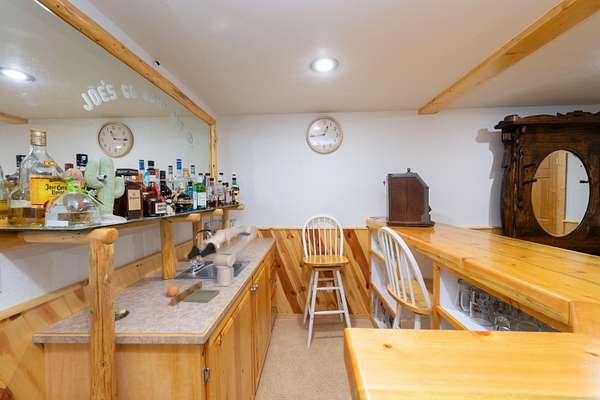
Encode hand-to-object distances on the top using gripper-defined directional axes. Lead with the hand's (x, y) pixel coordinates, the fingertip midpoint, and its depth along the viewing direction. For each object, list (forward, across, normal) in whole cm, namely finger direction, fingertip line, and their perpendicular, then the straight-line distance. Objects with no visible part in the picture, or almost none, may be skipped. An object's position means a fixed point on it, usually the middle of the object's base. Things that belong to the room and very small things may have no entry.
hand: (194, 256), depth 112 cm
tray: (+2, -3, +20) cm, 20 cm away
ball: (+4, -17, +14) cm, 22 cm away
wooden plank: (+3, -11, +18) cm, 21 cm away
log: (+28, -23, +9) cm, 37 cm away
